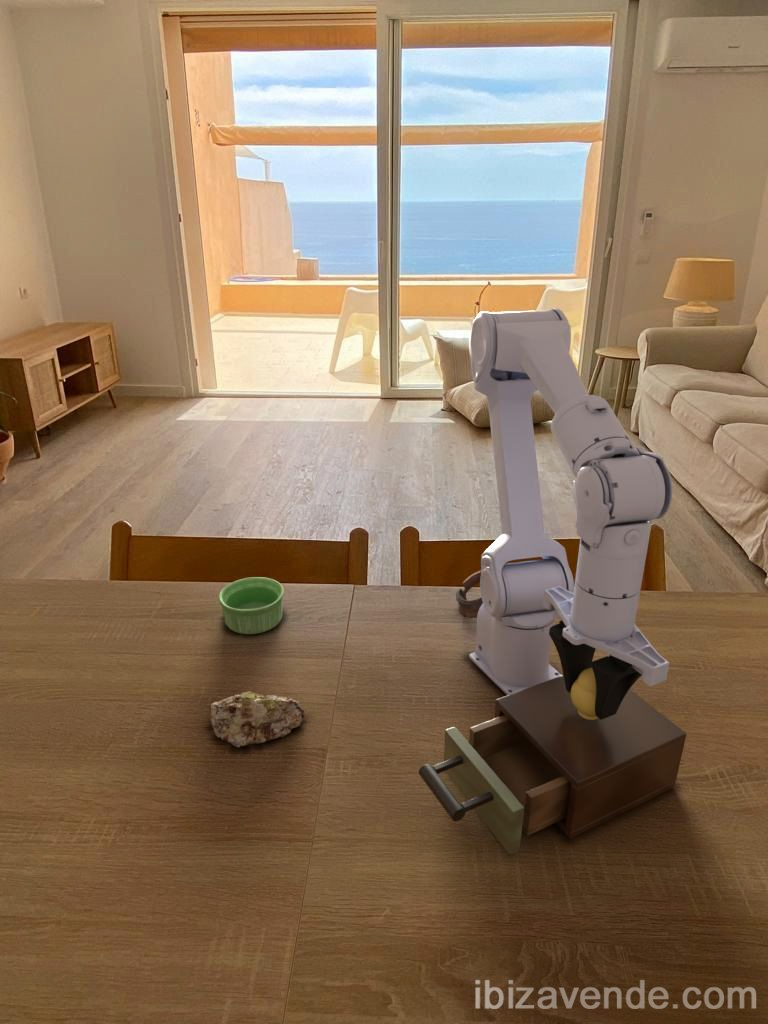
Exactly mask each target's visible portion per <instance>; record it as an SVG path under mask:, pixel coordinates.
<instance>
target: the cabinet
mask: <svg viewBox="0 0 768 1024" xmlns="http://www.w3.org/2000/svg"><path fill="white" fill-rule="evenodd" d="M591 668H592V667H591ZM561 675H562V676H559V677H556V678H554V679H551V680H548V681H545V682H543V683H540V684H537V685H535V686H532V687H529V688H526V689H524V690H521V691H518V692H516V693H513V694H510V695H507V694H506V695H505V696H502V697H500V698H496V699H495V705H494V706H495V707H494V708H495V709H494V719H495V718H498V717H500V716H503V715H505V716H506V717H507V718H508V719H509V720H510V721H511V722H512V723H513V724H514V725H515V726H516V727H517V728H518V729H519V730H520V731H521V732H522V733H523V734H524V735H525V736H526V737H527V738H528V739H529V740H530V741H531V742H532V743H533V744H534V745H535V746H536V747H537V748H538V749H539V750H540V752H541V753H542V754H543V755H544V756H545V757H546V758H547V759H548V760H549V761H550V762H551V763H552V764H553V765H554V766H555V767H556V768H557V769H558V770H559V771H560V772H561V773H562V774H563V775H564V776H565V777H566V778H567V779H568V780H569V781H570V782H571V783H572V784H571V789H570V796H569V803H568V810H567V817H566V818H564V819H562V820H560V821H558V822H556V823H555V824H556V826H558V828H559V829H560V830H561V831H562V832H563V833H564V834H565V835H566V837H567V838H568V839H572V838H574V837H575V838H576V837H577V836H579V835H581V834H583V833H584V832H587V831H589V830H590V829H593V828H595V827H597V826H599V825H601V824H603V823H605V822H607V821H609V820H611V819H613V818H615V817H618V816H619V815H622V814H624V813H625V812H627V811H630V810H632V809H633V808H635V807H637V806H640V805H641V804H644V803H645V802H648V801H650V800H652V799H654V798H655V797H657V796H660V795H662V794H664V793H666V792H667V791H669V790H671V789H674V788H675V786H676V782H677V778H678V775H679V774H678V773H679V769H680V765H681V761H682V756H683V752H684V747H685V743H686V738H687V732H686V731H684V730H683V729H682V728H680V727H679V726H678V725H677V724H675V723H674V722H673V721H671V720H670V719H669V718H668V717H666V716H665V715H664V714H663V713H661V712H660V711H659V710H658V709H656V708H655V707H654V706H653V705H651V704H650V703H648V702H647V701H646V700H645V699H643V698H642V697H641V696H639V695H638V694H637V693H636V692H634V691H633V689H631V688H630V689H629V691H628V692H627V694H626V695H625V697H624V699H623V700H622V702H621V704H620V706H619V708H618V710H617V712H616V714H615V715H612V716H610V717H607V718H605V719H603V720H600V719H599V718H598V719H595V720H588V719H585V718H583V717H581V716H580V715H579V713H578V710H577V709H576V707H575V706H574V704H573V702H572V700H571V693H569V692H568V691H567V690H566V686H565V681H564V675H563V674H561Z"/></svg>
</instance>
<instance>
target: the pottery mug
mask: <svg viewBox="0 0 768 1024" xmlns="http://www.w3.org/2000/svg"><path fill="white" fill-rule="evenodd" d="M480 577H481V569H480V570H478V571H476V572H474V573H472V574H471V575H469V576H468V577H466V579H464V580H463V582H462V583H461V585H462V586H463V588H464V589H462V588H458V590H457V591H456V592H455V599H456V602H457V611H458V613H459V615H460V616H462V617H463V618H467V619H477V615H478V611H479V609H480V607H481V605H482V604H483V601H482V597H481V596H480V597H479V598H476V599H472V600H471V599H470V600H468V598H467V593H468V592H469V591H470V590H471V589H472V588H473V587H474V586H475V585H477V584H480Z"/></svg>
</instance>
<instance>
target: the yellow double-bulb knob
mask: <svg viewBox="0 0 768 1024" xmlns="http://www.w3.org/2000/svg"><path fill="white" fill-rule="evenodd" d="M571 700H572V702H573V704H574V706H575V707H576V709H577V710H578V713H579V715H580V716H581V717H583V718H585V719H588V720H595V719H598V717H597V716H596V714H595V701H596V681H595V676H594V672H593V669H592V668H588V669H585V670H584V671H582V672H581V673H580V675H579V677H578V679H577V680H576V681H575V682H574V683H573V685H572V688H571Z"/></svg>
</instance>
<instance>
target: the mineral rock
mask: <svg viewBox="0 0 768 1024" xmlns="http://www.w3.org/2000/svg"><path fill="white" fill-rule="evenodd" d="M210 708H211V709H210V711H211V714H210V723H211V727H212V729H213V733H214V735H215V736H216V737H217V738H221V740H222V741H225V742H227V743H229V744H231V745H232V746H233V747H236V748H240V747H243V746H244V747H245V746H247V745H252V744H256V745H257V744H263V743H266V742H268V741H271V740H276V739H278V738H280V737H282V738H284V737H285V736H287V735H288V734H291V731H292V729H294V728H298V727H300V726H301V723H302V722H303V721H304V719H305V716H306V714H304V713H305V710H304V709H302V707H301V704H300V702H299V701H297V700H296V699H294V698H293V697H289V698H287V697H285V696H277V695H276V694H269V695H266V696H264V695H263V694H261V693H256V692H252V691H250V690H248V691H247V690H246V691H244V692H240V693H235V694H233V695H230V696H228V697H227V698H224V699H221V700H219V701H214V702H212V703H211V704H210Z"/></svg>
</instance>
